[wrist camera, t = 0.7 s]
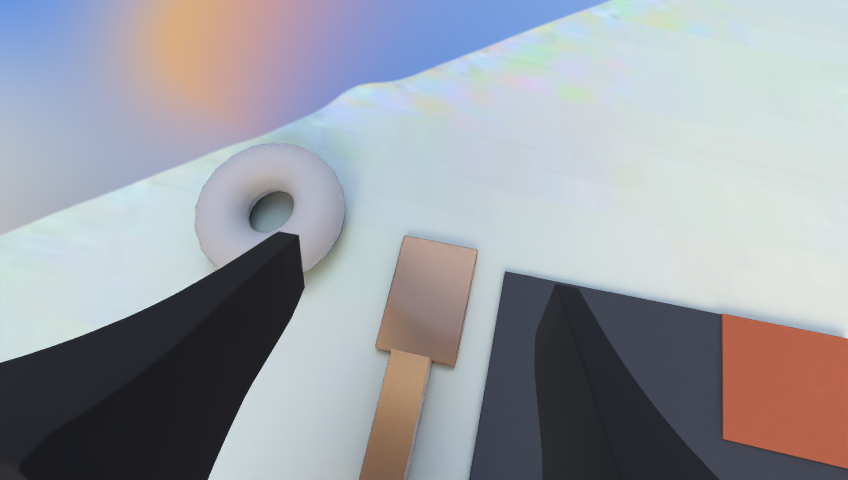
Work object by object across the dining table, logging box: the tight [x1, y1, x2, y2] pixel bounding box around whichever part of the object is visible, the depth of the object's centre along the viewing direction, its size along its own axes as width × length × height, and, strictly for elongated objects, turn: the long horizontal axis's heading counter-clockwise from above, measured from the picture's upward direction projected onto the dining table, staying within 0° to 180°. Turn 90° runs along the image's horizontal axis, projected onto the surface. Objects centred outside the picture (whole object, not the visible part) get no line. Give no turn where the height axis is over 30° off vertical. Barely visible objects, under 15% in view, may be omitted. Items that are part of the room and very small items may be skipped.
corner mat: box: [469, 272, 848, 480], centre depth 23 cm, size 19×20×1 cm
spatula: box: [359, 236, 478, 480], centre depth 24 cm, size 18×5×3 cm, turn 167°
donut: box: [195, 143, 345, 273], centre depth 28 cm, size 10×4×10 cm
